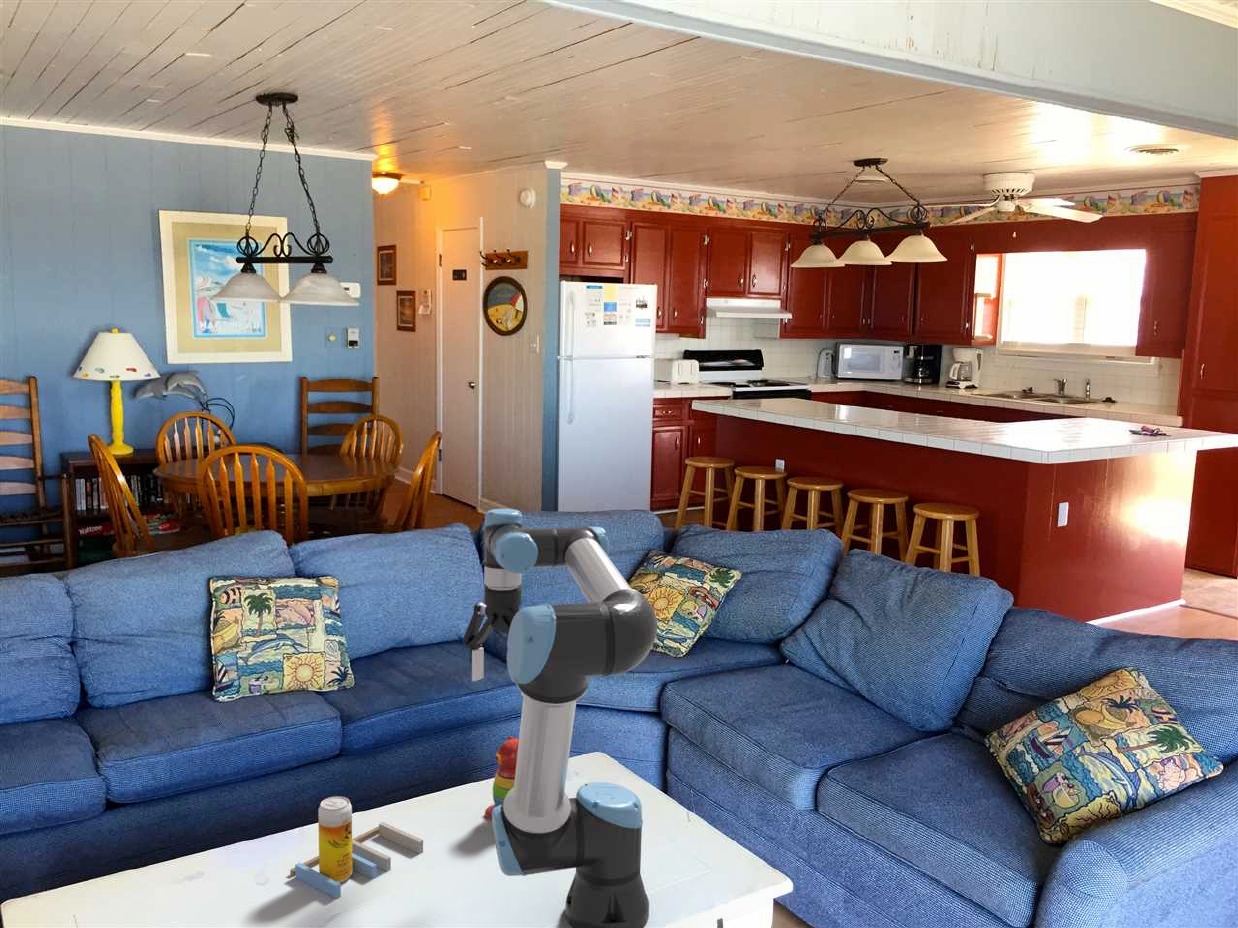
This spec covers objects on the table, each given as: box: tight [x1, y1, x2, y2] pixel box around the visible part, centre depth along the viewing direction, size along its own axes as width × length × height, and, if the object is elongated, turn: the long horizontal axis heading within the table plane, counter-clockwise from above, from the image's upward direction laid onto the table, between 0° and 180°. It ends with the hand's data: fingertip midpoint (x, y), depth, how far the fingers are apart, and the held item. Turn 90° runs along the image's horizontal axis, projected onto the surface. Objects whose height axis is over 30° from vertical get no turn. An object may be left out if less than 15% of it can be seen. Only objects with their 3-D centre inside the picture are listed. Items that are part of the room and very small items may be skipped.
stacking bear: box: [484, 735, 519, 821], centre depth 215 cm, size 11×10×18 cm
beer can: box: [317, 796, 354, 884], centre depth 191 cm, size 6×6×15 cm
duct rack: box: [290, 821, 424, 900], centre depth 197 cm, size 14×22×2 cm, turn 144°
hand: (502, 686), depth 206 cm, fingers open, 13 cm apart
